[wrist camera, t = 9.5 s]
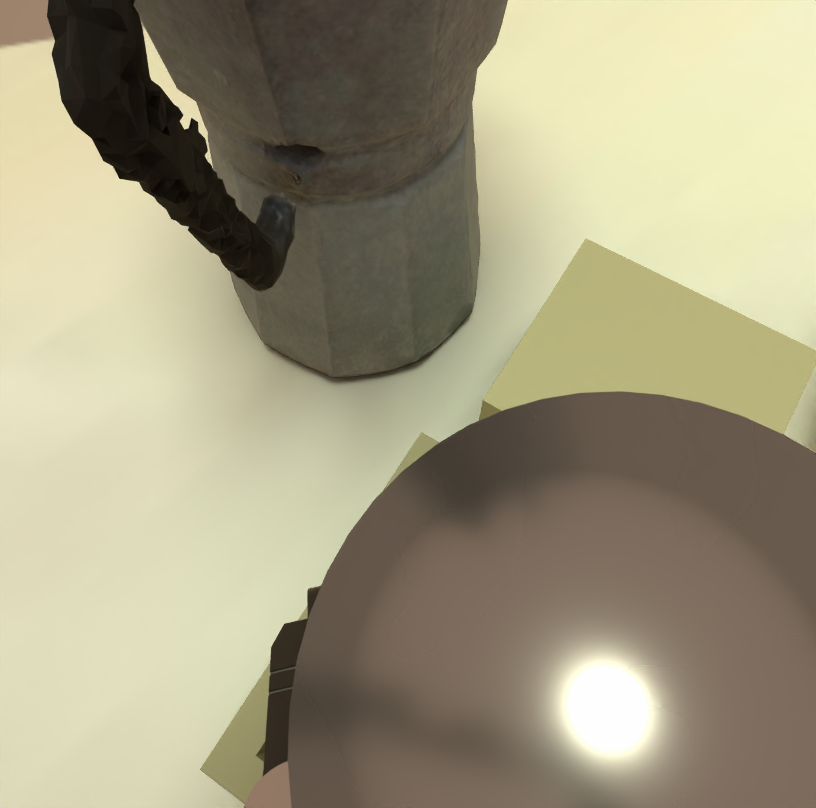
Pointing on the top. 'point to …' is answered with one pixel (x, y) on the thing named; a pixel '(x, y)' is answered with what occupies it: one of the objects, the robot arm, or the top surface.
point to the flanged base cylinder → (571, 620)
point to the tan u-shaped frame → (598, 372)
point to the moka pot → (302, 155)
